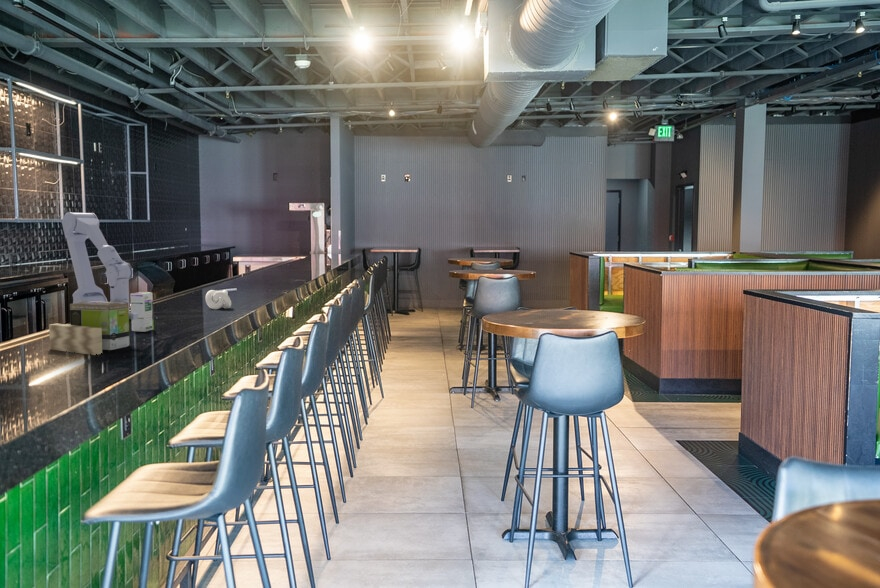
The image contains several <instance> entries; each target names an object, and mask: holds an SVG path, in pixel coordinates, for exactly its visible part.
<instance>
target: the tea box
mask: <svg viewBox="0 0 880 588" xmlns="http://www.w3.org/2000/svg"><path fill="white" fill-rule="evenodd" d="M129 312H130V307H129V308H128V303H127V302H110V301H108V302H95V301H89V302H81V303H73V302H72V303H69V319H70V320H69V321H70V322H69V323H70V324H69V325H77V326H86V327H96V328H102V351H103V350H104V351H105V350H106V351H113V350H118V349H123V348H127V347H129V346H130V324H129Z"/></svg>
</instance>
